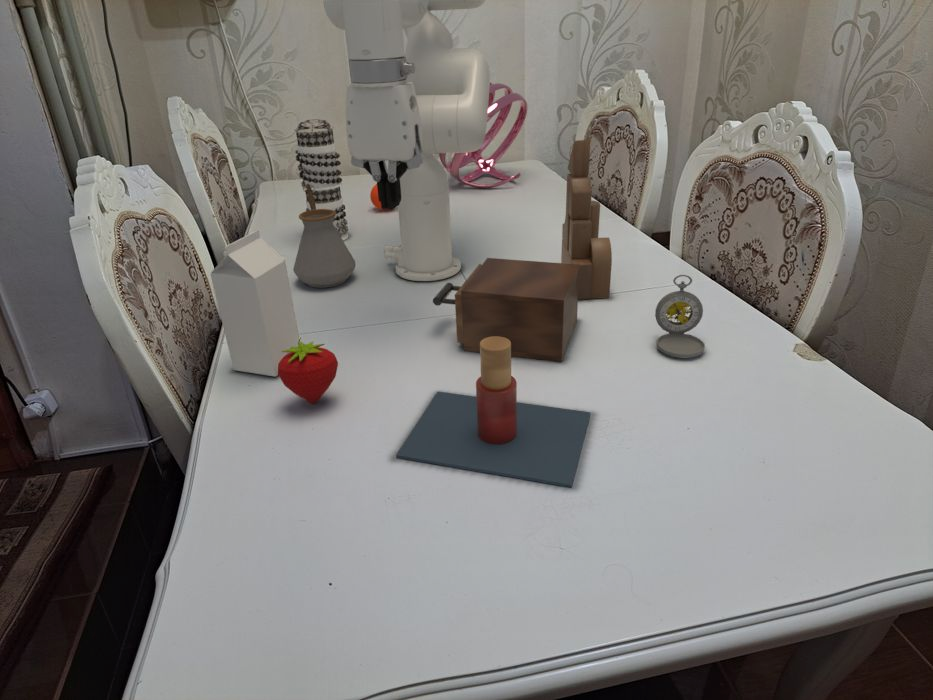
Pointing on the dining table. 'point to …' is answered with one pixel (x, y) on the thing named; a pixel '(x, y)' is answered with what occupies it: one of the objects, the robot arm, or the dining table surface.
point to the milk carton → (255, 305)
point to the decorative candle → (321, 169)
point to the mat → (525, 457)
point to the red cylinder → (496, 392)
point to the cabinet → (522, 306)
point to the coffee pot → (321, 249)
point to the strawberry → (308, 370)
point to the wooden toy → (585, 229)
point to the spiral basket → (488, 164)
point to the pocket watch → (676, 339)
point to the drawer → (454, 302)
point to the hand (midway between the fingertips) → (390, 206)
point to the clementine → (376, 198)
